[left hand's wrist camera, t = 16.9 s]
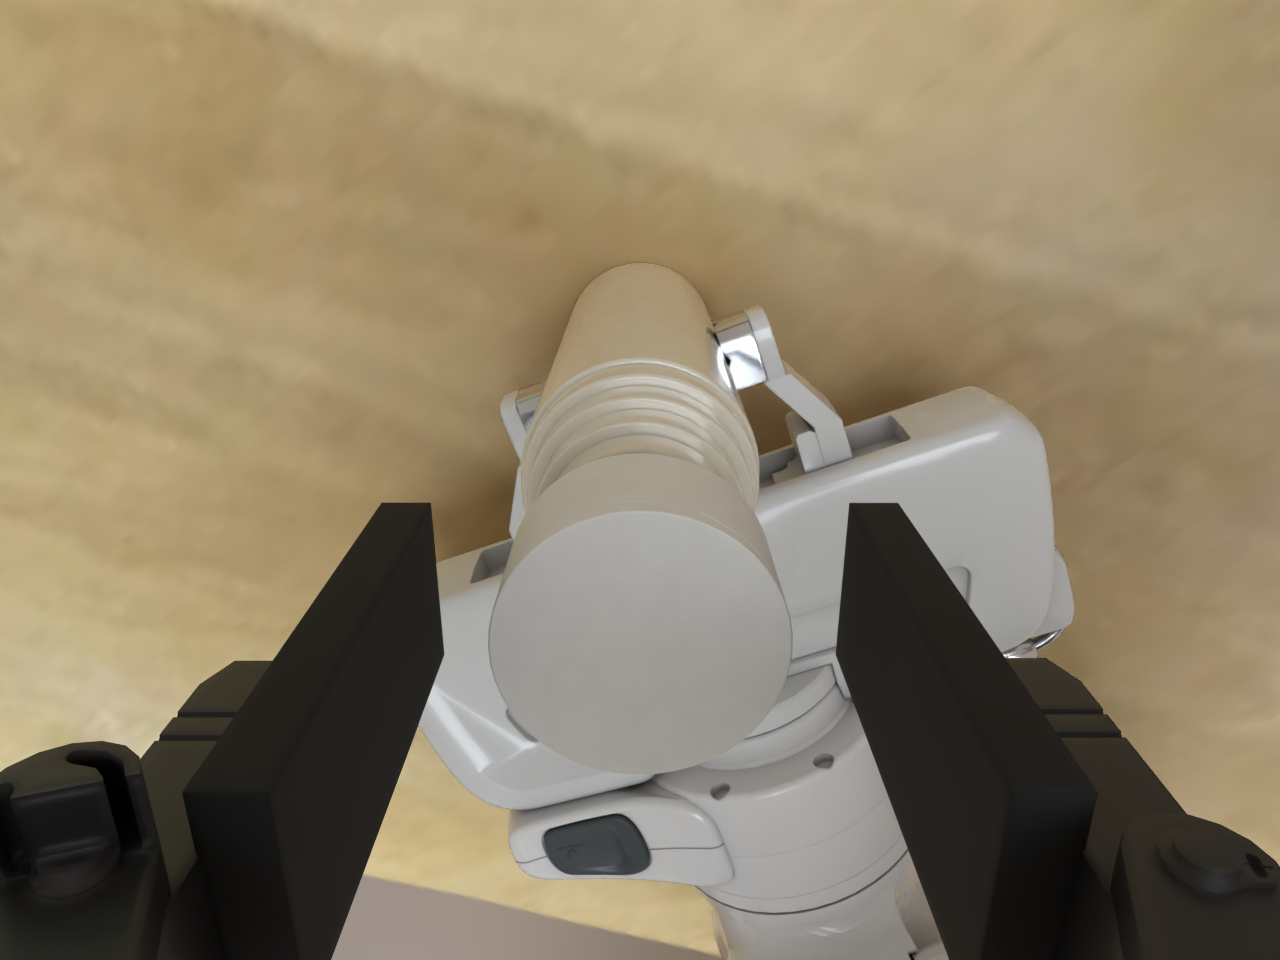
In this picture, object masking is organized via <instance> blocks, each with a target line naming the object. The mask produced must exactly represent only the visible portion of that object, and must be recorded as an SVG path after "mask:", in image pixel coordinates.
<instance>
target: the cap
mask: <svg viewBox="0 0 1280 960" xmlns="http://www.w3.org/2000/svg"><path fill="white" fill-rule="evenodd" d="M792 647H793V634H792V626H791V619H790V615H789V612H788V608H787V605H786V601H785V598H784V595H783V592H782V588H781V585H780V582H779V579H778V575H777V572H776V569H775V566H774V562H773V559H772V556H771V553H770V549H769V546H768V543H767V540H766V536H765V533H764V531H763V529H762V527H761V525H760V522H759V520H758V518H757V517H756V515H755V514H754V512H753V510H752V509H751V507H750V506H749V504H748V503H747V502H746V501H745V500H744V499H743V498H742V496H741V495H740V494H739V493H738V492H737V491H736V490H735V489H734V488H732V487H731V486H730V485H729V484H728V483H727V482H726V481H724V480H723V479H721V478H720V477H718V476H717V475H715V474H714V473H712V472H710V471H708V470H706V469H704V468H702V467H700V466H698V465H696V464H694V463H691V462H688V461H685V460H682V459H679V458H675V457H670V456H665V455H659V454H646V453H637V454H622V455H616V456H610V457H606V458H602V459H599V460H596V461H592V462H589V463H587V464H585V465H583V466H580V467H578V468H576V469H574V470H572V471H571V472H569V473H567V474H566V475H564V476H562V477H561V478H559V479H558V480H557V481H555V482H554V483H553V484H552V485H551V486H549V487H548V488H547V489H546V490H545V491H544V492H543V493H542V494H541V495H540V496H539V497H538V498H537V499H536V500H535V502H534V503H533V504H532V506H531V507H530V509H529V510H528V511H527V513H526V514H525V516H524V518H523V520H522V522H521V524H520V526H519V528H518V530H517V533H516V536H515V539H514V542H513V545H512V548H511V552H510V555H509V558H508V561H507V565H506V568H505V571H504V574H503V578H502V581H501V584H500V587H499V591H498V594H497V597H496V600H495V604H494V607H493V610H492V614H491V619H490V625H489V633H488V651H489V659H490V666H491V669H492V673H493V676H494V680H495V683H496V685H497V687H498V689H499V692H500V694H501V696H502V698H503V700H504V701H505V703H506V705H507V706H508V708H509V710H510V711H511V713H512V714H513V715H514V716H515V718H516V719H517V720H518V721H519V722H520V724H521V725H522V726H523V727H524V728H525V729H526V730H527V731H528V732H529V733H530V734H532V735H533V736H534V737H535V738H536V739H537V740H539V741H540V742H541V743H543V744H544V745H545V746H547V747H548V748H550V749H551V750H553V751H555V752H557V753H558V754H560V755H562V756H564V757H566V758H568V759H570V760H573V761H575V762H577V763H580V764H582V765H585V766H589V767H592V768H595V769H599V770H603V771H609V772H615V773H622V774H636V775H639V774H659V773H666V772H673V771H677V770H681V769H685V768H689V767H693V766H695V765H698V764H701V763H703V762H706V761H709V760H711V759H713V758H715V757H717V756H719V755H721V754H723V753H725V752H726V751H728V750H729V749H731V748H732V747H734V746H735V745H737V744H738V743H740V742H741V741H742V740H743V739H745V738H746V737H747V736H748V735H749V734H750V733H752V732H753V731H754V730H755V729H756V728H757V727H758V725H759V724H760V723H761V722H762V721H763V720H764V719H765V718H766V716H767V715H768V713H769V712H770V711H771V709H772V708H773V706H774V705H775V703H776V701H777V699H778V697H779V695H780V693H781V691H782V689H783V687H784V685H785V682H786V679H787V676H788V673H789V670H790V664H791V658H792Z"/></svg>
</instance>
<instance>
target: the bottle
mask: <svg viewBox="0 0 1280 960" xmlns="http://www.w3.org/2000/svg"><path fill="white" fill-rule="evenodd" d="M637 453H646V454H659V455H665V456H670V457H675V458H679V459H682V460H685V461H688V462H691V463H694V464H696V465H698V466H700V467H702V468H704V469H706V470H708V471H710V472H712V473H714V474H715V475H717V476H718V477H720V478H721V479H723V480H724V481H726V482H727V483H728V484H729V485H730V486H731V487H732V488H734V489H735V490H736V491H737V492H738V493H739V494H740V495H741V496H742V498H743V499H744V500H745V501H746V502H747V503H748V504H749V506H750V507H751V509H752V510H753V512H754V514H755V511H756V507H757V503H758V495H759V475H760V474H759V454H758V448H757V443H756V440H755V437H754V433H753V430H752V428H751V425H750V422H749V420H748V417H747V414H746V412H745V409H744V406H743V404H742V401H741V398H740V396H739V393H738V390H737V388H736V385H735V382H734V380H733V377H732V374H731V372H730V369H729V366H728V364H727V361H726V358H725V356H724V354H723V352H722V349H721V347H720V345H719V342H718V339H717V337H716V334H715V331H714V328H713V325H712V321H711V318H710V316H709V313H708V310H707V308H706V306H705V303H704V301H703V299H702V298H701V296H700V294H699V293H698V292H697V290H696V289H695V288H694V287H693V286H692V284H690V283H689V282H688V281H687V280H686V279H685V278H684V277H682V276H681V275H679V274H678V273H676V272H674V271H672V270H670V269H668V268H665V267H663V266H660V265H655V264H650V263H630V264H625V265H621V266H618V267H615V268H612V269H610V270H608V271H606V272H604V273H602V274H601V275H599V276H598V277H597V278H595V279H594V280H593V281H592V282H591V283H590V284H589V285H588V286H587V287H586V288H585V289H584V290H583V292H582V293H581V295H580V296H579V298H578V300H577V302H576V304H575V306H574V308H573V311H572V313H571V316H570V319H569V322H568V324H567V327H566V330H565V332H564V335H563V338H562V340H561V343H560V346H559V348H558V351H557V354H556V356H555V359H554V362H553V364H552V367H551V370H550V373H549V375H548V378H547V381H546V383H545V386H544V389H543V391H542V394H541V397H540V399H539V402H538V405H537V407H536V410H535V413H534V416H533V418H532V421H531V424H530V426H529V429H528V432H527V435H526V438H525V441H524V445H523V451H522V457H521V490H522V499H523V505H524V509H525V512H526V513H527V511H528V510H529V509H530V507H531V506H532V504H533V503H534V502H535V500H536V499H537V498H538V497H539V496H540V495H541V494H542V493H543V492H544V491H545V490H546V489H547V488H548V487H549V486H551V485H552V484H553V483H554V482H555V481H557V480H558V479H559V478H561V477H562V476H564V475H566V474H567V473H569V472H571V471H572V470H574V469H576V468H578V467H580V466H583V465H585V464H587V463H589V462H592V461H596V460H599V459H602V458H606V457H610V456H616V455H622V454H637Z"/></svg>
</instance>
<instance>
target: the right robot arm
mask: <svg viewBox="0 0 1280 960" xmlns="http://www.w3.org/2000/svg"><path fill="white" fill-rule="evenodd" d="M712 325H713V328H714V331H715V334H716V337H717V339H718V342H719V345H720V347H721V349H722V352H723V354H724V356H725V358H726V361H727V364H728V366H729V369H730V372H731V374H732V377H733V380H734V382H735V385H736V388H737V390H740V389H744V388H747V387H750V386H753V385H756V384H759V383H762V382H763V383H764V385H766V386H767V387H768V388H769V389H770V390H771V391H772V392H774V393H775V394H776V395H777V396H778V397H779V398H780V399H782V400H783V401H784V402H785V403H786V404H787V405H788V406H790V407H791V408H792V409H793V410H794V411H791V412H788V413H787V414H786V416H785V417H784V418H785V421H786V424H787V428H788V431H789V434H790V438H791V441H792V444H791V445H788V446H785V447H782V448H779V449H776V450H773V451H770V452H767V453H764V454H761V455H759V474H760V475H759V495H758V503H757V507H756V511H755V515H756V517H757V518H758V520H759V522H760V525H761V527H762V529H763V531H764V533H765V536H766V540H767V543H768V546H769V549H770V553H771V556H772V559H773V562H774V566H775V569H776V572H777V575H778V579H779V582H780V585H781V588H782V592H783V595H784V598H785V601H786V605H787V608H788V612H789V615H790V619H791V626H792V634H793V647H792V658H791V664H790V670H789V673H788V676H787V679H786V682H785V685H784V687H783V689H782V691H781V693H780V695H779V697H778V699H777V701H776V703H775V705H774V706H773V708H772V709H771V711H770V712H769V713H768V715H767V716H766V718H765V719H764V720H763V721H762V722H761V723H760V724H759V725H758V727H757V728H756V729H755V730H754V731H753V732H752V733H750V734H749V735H748V736H747V737H746V738H745V739H743V740H742V741H741V742H740V743H738V744H737V745H735V746H734V747H732V748H731V749H729V750H728V751H726V752H725V753H723V754H721V755H719V756H717V757H715V758H713V759H711V760H709V761H706V762H703V763H701V764H698V765H695V766H693V767H689V768H685V769H681V770H677V771H673V772H666V773H659V774H639V775H636V774H622V773H615V772H609V771H603V770H599V769H595V768H592V767H589V766H585V765H582V764H580V763H577V762H575V761H573V760H570V759H568V758H566V757H564V756H562V755H560V754H558V753H557V752H555V751H553V750H551V749H550V748H548V747H547V746H545V745H544V744H543V743H541V742H540V741H539V740H537V739H536V738H535V737H534V736H533V735H532V734H530V733H529V732H528V731H527V730H526V729H525V728H524V727H523V726H522V725H521V724H520V722H519V721H518V720H517V719H516V718H515V716H514V715H513V714H512V713H511V711H510V710H509V708H508V706H507V705H506V703H505V701H504V700H503V698H502V696H501V694H500V692H499V689H498V687H497V685H496V683H495V680H494V676H493V673H492V669H491V666H490V659H489V651H488V633H489V625H490V619H491V614H492V610H493V607H494V604H495V600H496V597H497V594H498V591H499V587H500V584H501V581H502V578H503V574H504V571H505V568H506V565H507V561H508V558H509V555H510V552H511V548H512V545H513V542H514V539H515V536H516V533H517V530H518V528H519V526H520V524H521V522H522V520H523V518H524V516H525V514H526V512H525V509H524V505H523V499H522V490H521V457H522V451H523V445H524V441H525V438H526V435H527V432H528V429H529V426H530V424H531V421H532V418H533V416H534V413H535V410H536V407H537V405H538V402H539V399H540V397H541V394H542V391H543V389H544V386H545V383H546V381H547V380H546V381H543V382H540V383H537V384H534V385H531V386H528V387H525V388H522V389H518V390H516V391H513V392H511V393H508V394H506V395H504V396H503V398H502V400H501V402H500V405H499V407H500V413H501V417H502V420H503V423H504V425H505V428H506V430H507V432H508V435H509V437H510V439H511V442H512V444H513V446H514V449H515V451H516V453H517V456H518V458H519V460H520V462H519V465H518V469H517V476H516V483H515V490H514V497H513V504H512V511H511V518H510V525H509V532H510V534H511V537H512V538H509V539H506V540H503V541H500V542H497V543H494V544H491V545H488V546H485V547H482V548H479V549H476V550H473V551H470V552H467V553H464V554H461V555H458V556H455V557H452V558H449V559H446V560H443V561H440V562H437V563H436V567H437V578H438V589H439V600H440V611H441V622H442V633H443V644H444V657H443V660H442V663H441V665H440V668H439V671H438V673H437V676H436V679H435V681H434V684H433V687H432V689H431V692H430V695H429V698H428V700H427V703H426V706H425V708H424V711H423V714H422V716H421V719H420V722H419V724H418V727H419V728H420V730H421V731H422V733H423V734H424V736H425V737H426V739H427V740H428V742H429V743H430V745H431V746H432V748H433V749H434V750H435V752H436V753H437V755H438V756H439V757H440V759H441V760H442V762H443V763H444V764H445V766H446V767H447V768H448V770H449V771H450V772H451V774H452V775H453V776H454V777H455V778H456V779H457V781H458V782H459V783H460V784H461V785H462V786H463V787H464V788H465V789H466V790H468V791H469V792H470V793H471V794H473V795H474V796H476V797H477V798H479V799H480V800H482V801H484V802H486V803H488V804H491V805H493V806H496V807H500V808H504V809H509V832H508V837H509V847H510V850H511V852H512V855H513V857H514V859H515V861H516V863H517V864H518V866H519V867H520V868H521V869H522V870H523V871H524V872H525V873H526V874H528V875H530V876H532V877H535V878H539V879H549V880H564V879H634V880H651V881H663V882H671V883H679V884H686V885H693V886H695V887H696V889H697V890H698V891H699V892H700V893H701V894H702V895H703V896H704V897H705V899H706V900H707V901H708V903H709V904H710V905H711V907H712V924H713V930H714V936H715V940H716V943H717V946H718V949H719V952H720V955H721V958H722V960H949V958H948V956H947V953H946V950H945V948H944V945H943V942H942V939H941V937H940V934H939V931H938V929H937V926H936V923H935V921H934V918H933V915H932V913H931V910H930V907H929V905H928V902H927V899H926V896H925V894H924V891H923V888H922V886H921V883H920V880H919V878H918V875H917V872H916V870H915V867H914V864H913V862H912V859H911V856H910V853H909V851H908V848H907V845H906V843H905V840H904V837H903V835H902V832H901V829H900V827H899V824H898V821H897V818H896V816H895V813H894V810H893V808H892V805H891V802H890V800H889V797H888V794H887V792H886V789H885V786H884V784H883V781H882V778H881V775H880V773H879V770H878V767H877V765H876V762H875V759H874V757H873V754H872V751H871V749H870V746H869V743H868V741H867V738H866V735H865V732H864V730H863V727H862V724H861V722H860V719H859V716H858V714H857V711H856V708H855V706H854V703H853V700H852V698H851V695H850V692H849V689H848V687H847V684H846V681H845V679H844V676H843V673H842V671H841V668H840V665H839V663H838V660H837V657H836V644H837V633H838V622H839V611H840V600H841V589H842V578H843V567H844V556H845V544H846V533H847V522H848V511H849V503H899V505H900V506H901V508H902V509H903V511H904V512H905V513H906V515H907V516H908V518H909V519H910V521H911V522H912V524H913V525H914V527H915V528H916V529H917V531H918V532H919V534H920V535H921V537H922V538H923V540H924V541H925V542H926V544H927V545H928V547H929V548H930V550H931V551H932V553H933V554H934V556H935V557H936V558H937V560H938V561H939V563H940V564H941V566H942V567H943V569H944V570H945V571H946V573H947V574H948V576H949V577H950V579H951V580H952V582H953V583H954V584H955V586H956V587H957V589H958V590H959V592H960V593H961V595H962V596H963V598H964V599H965V600H966V602H967V603H968V605H969V606H970V608H971V609H972V611H973V612H974V613H975V615H976V616H977V618H978V619H979V621H980V622H981V624H982V625H983V626H984V628H985V629H986V631H987V632H988V634H989V635H990V637H991V638H992V640H993V641H994V642H995V644H996V645H997V647H998V648H999V650H1000V651H1001V653H1002V654H1003V655H1004V657H1005V658H1038V653H1037V651H1039V650H1041V649H1043V648H1045V647H1047V646H1048V645H1050V644H1051V643H1052V642H1053V641H1055V640H1056V639H1057V638H1058V637H1059V636H1060V635H1061V634H1062V632H1063V631H1064V630H1065V628H1066V627H1067V626H1069V625H1070V624H1071V622H1072V620H1073V617H1074V610H1075V609H1074V599H1073V594H1072V589H1071V584H1070V579H1069V574H1068V570H1067V565H1066V561H1065V559H1064V557H1063V555H1062V553H1061V552H1060V550H1059V549H1058V548H1057V547H1056V546H1055V541H1054V516H1053V503H1052V493H1051V483H1050V476H1049V468H1048V461H1047V455H1046V450H1045V445H1044V442H1043V439H1042V436H1041V434H1040V432H1039V431H1038V429H1037V428H1036V427H1035V425H1034V424H1033V423H1032V422H1031V421H1030V420H1029V419H1028V418H1027V417H1026V416H1025V415H1024V414H1022V413H1021V412H1020V411H1019V410H1017V409H1016V408H1015V407H1013V406H1012V405H1010V404H1009V403H1007V402H1005V401H1004V400H1002V399H1000V398H998V397H996V396H995V395H993V394H991V393H989V392H987V391H985V390H983V389H981V388H978V387H974V386H968V387H963V388H959V389H956V390H953V391H950V392H947V393H944V394H941V395H938V396H935V397H932V398H929V399H926V400H923V401H920V402H917V403H914V404H911V405H908V406H905V407H902V408H899V409H896V410H893V411H890V412H887V413H884V414H881V415H878V416H875V417H872V418H869V419H866V420H863V421H860V422H857V423H854V424H851V425H848V426H845V427H844V425H843V422H842V419H841V418H840V416H839V415H838V413H837V412H836V410H835V409H834V408H833V406H832V405H831V403H830V402H829V400H828V399H827V398H826V397H825V396H824V395H823V394H822V393H820V392H819V391H818V390H817V389H816V388H815V387H813V386H812V385H811V384H810V383H809V382H808V381H807V380H805V379H804V378H803V377H802V376H801V375H800V374H798V373H797V372H796V371H795V370H794V369H793V368H792V367H790V366H789V365H788V364H787V363H786V362H785V361H783V360H782V359H781V358H780V354H779V351H778V348H777V345H776V341H775V338H774V335H773V332H772V329H771V325H770V323H769V320H768V318H767V315H766V313H765V310H764V309H763V308H762V306H761V305H760V304H759V305H756V306H753V307H750V308H748V309H745V310H744V311H743V310H742V311H739V312H736V313H734V314H731V315H728V316H725V317H723V318H720V319H717V320H715V321H712ZM1036 636H1037V637H1036ZM1033 637H1035V638H1033ZM1032 638H1033V639H1032Z"/></svg>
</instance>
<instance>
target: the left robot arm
mask: <svg viewBox="0 0 1280 960" xmlns="http://www.w3.org/2000/svg"><path fill="white" fill-rule="evenodd" d="M443 657H444V644H443V633H442V622H441V611H440V600H439V589H438V578H437V567H436V556H435V544H434V533H433V522H432V511H431V503H381V505H380V506H379V508H378V509H377V511H376V512H375V513H374V515H373V516H372V518H371V519H370V521H369V522H368V524H367V525H366V527H365V528H364V529H363V531H362V532H361V534H360V535H359V537H358V538H357V540H356V541H355V542H354V544H353V545H352V547H351V548H350V550H349V551H348V553H347V554H346V556H345V557H344V558H343V560H342V561H341V563H340V564H339V566H338V567H337V569H336V570H335V571H334V573H333V574H332V576H331V577H330V579H329V580H328V582H327V583H326V584H325V586H324V587H323V589H322V590H321V592H320V593H319V595H318V596H317V598H316V599H315V600H314V602H313V603H312V605H311V606H310V608H309V609H308V611H307V612H306V613H305V615H304V616H303V618H302V619H301V621H300V622H299V624H298V625H297V626H296V628H295V629H294V631H293V632H292V634H291V635H290V637H289V638H288V640H287V641H286V642H285V644H284V645H283V647H282V648H281V650H280V651H279V653H278V654H277V655H276V657H275V658H274V660H273V661H234V662H232V663H231V664H229V665H228V666H226V667H225V668H223V669H222V670H220V671H219V672H217V673H216V674H215V675H213V676H212V677H210V678H209V679H207V680H206V681H204V682H203V683H201V684H200V685H199V686H198V687H197V688H196V690H195V691H194V692H193V693H192V695H191V696H190V697H189V698H188V700H187V701H186V702H185V704H184V705H183V706H182V707H181V709H180V710H179V711H178V716H177V718H173V719H172V720H171V721H170V722H169V724H168V725H167V726H166V728H165V729H164V730H163V731H162V733H161V734H160V738H159V741H154V743H153V744H152V745H151V746H150V748H149V749H148V750H147V751H146V753H145V754H144V755H143V757H142V758H141V759H140V758H139V756H138V755H136V754H135V753H134V752H133V751H132V750H130V749H129V748H128V747H127V746H125V745H120V744H115V743H110V742H104V741H96V742H84V743H72V744H68V745H65V746H61V747H57V748H54V749H50V750H46V751H43V752H39V753H37V754H35V755H33V756H30V757H28V758H26V759H24V760H22V761H20V762H18V763H15V764H13V765H11V766H9V767H7V768H5V769H4V770H3V771H1V772H0V960H331V958H332V956H333V953H334V950H335V948H336V945H337V942H338V939H339V937H340V934H341V931H342V929H343V926H344V923H345V921H346V918H347V915H348V913H349V910H350V907H351V904H352V902H353V899H354V896H355V894H356V891H357V888H358V886H359V883H360V880H361V878H362V875H363V872H364V870H365V867H366V864H367V862H368V859H369V856H370V853H371V851H372V848H373V845H374V843H375V840H376V837H377V835H378V832H379V829H380V827H381V824H382V821H383V818H384V816H385V813H386V810H387V808H388V805H389V802H390V800H391V797H392V794H393V792H394V789H395V786H396V784H397V781H398V778H399V775H400V773H401V770H402V767H403V765H404V762H405V759H406V757H407V754H408V751H409V749H410V746H411V743H412V741H413V738H414V735H415V732H416V730H417V727H418V724H419V722H420V719H421V716H422V714H423V711H424V708H425V706H426V703H427V700H428V698H429V695H430V692H431V689H432V687H433V684H434V681H435V679H436V676H437V673H438V671H439V668H440V665H441V663H442V660H443ZM836 657H837V660H838V663H839V665H840V668H841V671H842V673H843V676H844V679H845V681H846V684H847V687H848V689H849V692H850V695H851V698H852V700H853V703H854V706H855V708H856V711H857V714H858V716H859V719H860V722H861V724H862V727H863V730H864V732H865V735H866V738H867V741H868V743H869V746H870V749H871V751H872V754H873V757H874V759H875V762H876V765H877V767H878V770H879V773H880V775H881V778H882V781H883V784H884V786H885V789H886V792H887V794H888V797H889V800H890V802H891V805H892V808H893V810H894V813H895V816H896V818H897V821H898V824H899V827H900V829H901V832H902V835H903V837H904V840H905V843H906V845H907V848H908V851H909V853H910V856H911V859H912V862H913V864H914V867H915V870H916V872H917V875H918V878H919V880H920V883H921V886H922V888H923V891H924V894H925V896H926V899H927V902H928V905H929V907H930V910H931V913H932V915H933V918H934V921H935V923H936V926H937V929H938V931H939V934H940V937H941V939H942V942H943V945H944V948H945V950H946V953H947V956H948V958H949V960H1280V867H1279V865H1278V864H1277V862H1276V861H1275V860H1274V859H1273V858H1271V857H1270V856H1269V855H1268V854H1266V853H1265V852H1264V851H1263V850H1262V849H1260V848H1259V847H1258V846H1257V845H1255V844H1254V843H1253V842H1252V841H1251V840H1249V839H1247V838H1245V837H1243V836H1241V835H1239V834H1237V833H1235V832H1233V831H1232V830H1230V829H1228V828H1226V827H1224V826H1222V825H1220V824H1217V823H1214V822H1211V821H1207V820H1204V819H1201V818H1198V817H1194V816H1191V815H1187V814H1186V813H1185V811H1184V810H1183V809H1182V807H1181V806H1180V805H1179V804H1178V802H1177V801H1176V800H1175V799H1174V797H1173V796H1172V795H1171V794H1170V792H1169V791H1168V790H1167V789H1166V787H1165V786H1164V785H1163V784H1162V782H1161V781H1160V780H1159V779H1158V777H1157V776H1156V775H1155V774H1154V772H1153V771H1152V770H1151V769H1150V767H1149V766H1148V765H1147V764H1146V762H1145V761H1144V760H1143V759H1142V757H1141V756H1140V755H1139V754H1138V752H1137V751H1136V750H1135V749H1134V747H1133V746H1132V745H1131V744H1130V742H1129V741H1128V740H1127V739H1126V738H1122V737H1121V731H1120V730H1119V729H1118V727H1117V726H1116V725H1115V724H1114V722H1113V721H1112V720H1111V719H1110V717H1109V716H1108V715H1107V714H1103V708H1102V707H1101V706H1100V705H1099V703H1098V702H1097V701H1096V700H1095V698H1094V697H1093V696H1092V695H1091V693H1090V692H1089V691H1088V690H1087V688H1086V687H1085V686H1084V685H1083V683H1082V682H1081V681H1079V680H1078V679H1076V678H1075V677H1073V676H1072V675H1070V674H1069V673H1067V672H1066V671H1064V670H1063V669H1061V668H1060V667H1058V666H1057V665H1055V664H1054V663H1052V662H1051V661H1049V660H1048V659H1046V658H1005V657H1004V655H1003V654H1002V653H1001V651H1000V650H999V648H998V647H997V645H996V644H995V642H994V641H993V640H992V638H991V637H990V635H989V634H988V632H987V631H986V629H985V628H984V626H983V625H982V624H981V622H980V621H979V619H978V618H977V616H976V615H975V613H974V612H973V611H972V609H971V608H970V606H969V605H968V603H967V602H966V600H965V599H964V598H963V596H962V595H961V593H960V592H959V590H958V589H957V587H956V586H955V584H954V583H953V582H952V580H951V579H950V577H949V576H948V574H947V573H946V571H945V570H944V569H943V567H942V566H941V564H940V563H939V561H938V560H937V558H936V557H935V556H934V554H933V553H932V551H931V550H930V548H929V547H928V545H927V544H926V542H925V541H924V540H923V538H922V537H921V535H920V534H919V532H918V531H917V529H916V528H915V527H914V525H913V524H912V522H911V521H910V519H909V518H908V516H907V515H906V513H905V512H904V511H903V509H902V508H901V506H900V505H899V503H849V511H848V522H847V533H846V544H845V556H844V567H843V578H842V589H841V600H840V611H839V622H838V633H837V644H836Z"/></svg>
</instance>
